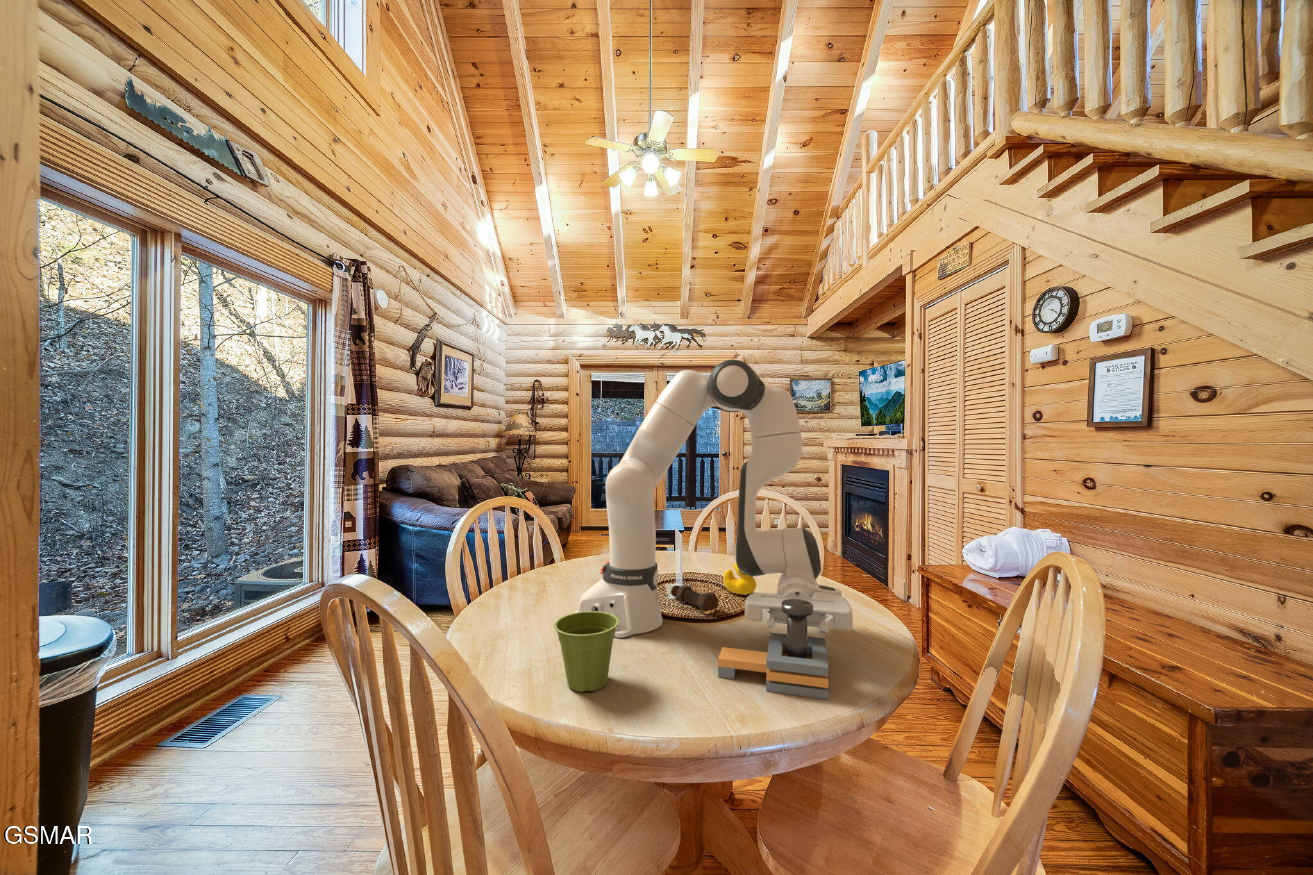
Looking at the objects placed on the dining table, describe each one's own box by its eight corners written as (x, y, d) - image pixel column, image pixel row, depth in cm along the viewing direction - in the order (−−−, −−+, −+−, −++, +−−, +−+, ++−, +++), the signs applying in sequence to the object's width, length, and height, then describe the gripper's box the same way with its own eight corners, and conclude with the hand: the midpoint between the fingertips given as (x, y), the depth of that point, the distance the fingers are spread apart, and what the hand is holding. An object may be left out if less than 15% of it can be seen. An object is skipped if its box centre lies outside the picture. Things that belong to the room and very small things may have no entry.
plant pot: (627, 670, 96) (626, 612, 96) (607, 703, 85) (607, 638, 84) (569, 664, 99) (569, 607, 99) (543, 695, 87) (542, 631, 87)
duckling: (765, 595, 139) (765, 559, 139) (760, 601, 134) (760, 564, 134) (727, 589, 144) (727, 554, 144) (720, 594, 140) (720, 558, 139)
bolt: (677, 603, 138) (713, 618, 126) (664, 597, 135) (699, 612, 123) (685, 583, 140) (721, 596, 127) (672, 577, 137) (708, 589, 125)
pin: (780, 686, 90) (780, 608, 90) (781, 671, 95) (781, 597, 95) (813, 690, 88) (813, 611, 88) (812, 675, 94) (812, 600, 94)
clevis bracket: (715, 683, 91) (715, 654, 91) (725, 654, 103) (725, 627, 103) (828, 699, 85) (828, 667, 85) (825, 666, 97) (825, 638, 97)
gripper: (747, 581, 108) (739, 603, 94) (848, 589, 102) (855, 614, 89) (747, 610, 108) (739, 636, 94) (848, 620, 102) (855, 649, 89)
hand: (796, 625), depth 91 cm, fingers open, 8 cm apart
